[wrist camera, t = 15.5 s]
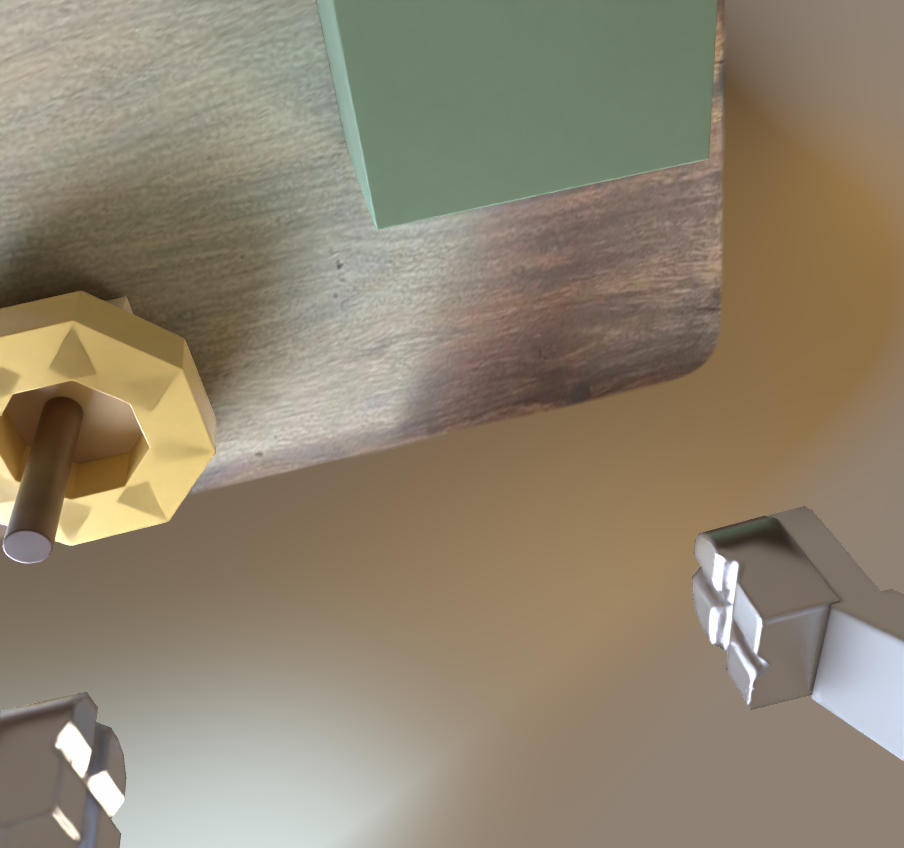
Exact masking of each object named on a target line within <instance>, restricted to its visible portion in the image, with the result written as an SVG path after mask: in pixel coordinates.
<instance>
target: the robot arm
mask: <svg viewBox="0 0 904 848" xmlns="http://www.w3.org/2000/svg"><path fill="white" fill-rule="evenodd" d="M694 555H695V556H696V558H697V560H698V561H699V563H700V565H701V567H700V568H699V569H698V570H697V572H696V573H695V574H694V575H693V577H692V595H693V600H694V604H695V609H696V613H697V615H698V618H699V620H700V623H701V625H702V627H703V629H704V631H705V633H706V635H707V636H708V638H709V640H710V642H711V643H713V644H714V645H716V646H718V647H720V648H722V649H723V650H725V651H727V652H728V659H727V668H726V669H727V671H728V673H729V674H730V676H731V678H732V679H733V681H734V683H735V685H736V686H737V688H738V690H739V691H740V693H741V695H742V696H743V698H744V699H745V701H746V703H747V705H748V707H749V708H750V710H753V709H757V708H761V707H765V706H769V705H773V704H777V703H781V702H785V701H789V700H793V699H797V698H801V697H805V696H809V695H812V699H813V700H815V701H816V702H818V703H819V704H821V705H822V706H824V707H825V708H827V709H828V710H830V711H831V712H832V713H834V714H835V715H837V716H838V717H840V718H841V719H843V720H844V721H846V722H847V723H849V724H850V725H852V726H853V727H854V728H856V729H857V730H859V731H861V732H862V733H863V734H865V735H866V736H868V737H869V738H871V739H872V740H874V741H875V742H876V743H878V744H879V745H881V746H882V747H884V748H885V749H887V750H888V751H890V752H891V753H893V754H894V755H896V756H897V757H898V758H900V759H901V760H903V761H904V594H902V593H900V592H897V591H895V590H893V589H889V590H884V591H880V590H879V588H878V587H877V586H876V585H875V584H874V583H873V581H872V580H871V579H870V578H869V577H868V576H867V574H866V573H865V572H864V571H863V570H862V568H861V567H860V566H859V565H858V564H857V562H856V561H855V560H854V559H853V558H852V557H851V555H850V554H849V553H848V552H847V551H846V550H845V548H844V547H843V546H842V545H841V544H840V543H839V541H838V540H837V539H836V538H835V537H834V536H833V534H832V533H831V532H830V531H829V530H828V528H827V527H826V526H825V525H824V524H823V523H822V521H821V520H820V519H819V518H818V517H817V515H816V514H815V513H814V512H813V511H812V510H810V509H809V508H807V507H805V506H803V507H799V508H795V509H791V510H787V511H783V512H780V513H776V514H772V515H769V516H762V517H758V518H755V519H751V520H747V521H743V522H740V523H736V524H732V525H729V526H725V527H721V528H718V529H714V530H710V531H706V532H703V533H699V534H698V536H697V538H696V539H695V546H694ZM97 710H98V707H97V705H96V704H95V703H94V701H93V700H92V699H91V697H90V696H89V694H88V693H87V692H84V693H77V694H73V695H68V696H64V697H60V698H55V699H51V700H47V701H43V702H38V703H34V704H29V705H25V706H20V707H16V708H12V709H7V710H4V711H0V848H119V847H120V839H121V833H120V832H119V830H118V829H117V827H116V826H115V824H114V823H113V822H112V820H111V818H112V817H113V816H114V814H115V813H116V811H117V810H118V808H119V807H120V806H121V804H122V803H123V801H124V800H125V787H126V772H125V762H124V754H123V751H122V749H121V746H120V743H119V740H118V738H117V736H116V735H115V733H114V732H113V730H112V728H110V727H108V726H105V725H102V724H100V723H97V722H96V718H97Z"/></svg>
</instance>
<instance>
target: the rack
mask: <svg viewBox="0 0 904 848" xmlns="http://www.w3.org/2000/svg"><path fill="white" fill-rule="evenodd" d="M105 302H108V303H110V304H112V305H114V306H116V307H118V308H120V309H123V310H125V311H127V312H129V313H131V314H133V312H132V309H131V307H130V304H129V302H128V299H127V297H120V298H116V299H111V300H106V301H105ZM133 315H134V314H133ZM5 409H6V410H7V412H8V414H9V416H10V417H11V419H12V421H13V423H14V424H15V426H16V428H17V430H18V431H19V433H20V435H21V437H22V438H23V440H24V442H25V444H26V445H28V446H30V447H31V449H30V453H29V456H28V459H27V463H26V466H25V469H24V473H23V476H22V480H21V483H20V486H19V490H18V493H17V496H16V500H15V503H14V506H13V510H12V513H11V516H10V520H9V523H8V526H7V530H6V533H5V536H4V540H3V549H4V551H5V553H6V554H7V555H8V556H9V557H10V558H12V559H13V560H16V561H18V562H23V563H35V562H39V561H42V560H44V559H46V558H47V557H48V556H49V555H50V554H51V552H52V550H53V545H54V541H55V537H56V532H57V528H58V523H59V519H60V515H61V510H62V506H63V502H64V497H65V493H66V489H67V484H68V480H69V475H70V471H71V467H72V462H74V463H77V464H82V463H86V462H90V461H94V460H98V459H102V458H107V457H111V456H115V455H119V454H123V453H127V452H130V451H131V450H132V448H133V446H134V445H135V443H136V442H137V440H138V438H139V437H140V435H141V434H142V430H141V428H140V426H139V423H138V421H137V419H136V417H135V415H134V412H133V410H132V408H131V406H130V404H129V403H126V402H124V401H122V400H119V399H117V398H114V397H112V396H109V395H107V394H105V393H102V392H100V391H97V390H95V389H92V388H90V387H87V386H85V385H83V384H80V383H78V382H75V381H73V380H72V381H68V382H63V383H59V384H55V385H50V386H46V387H42V388H37V389H33V390H29V391H25V392H20V393H16V394H13V395H12V397H11V399H10V401H9V402H8V404H7V406H6V408H5Z"/></svg>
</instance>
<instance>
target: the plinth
mask: <svg viewBox="0 0 904 848" xmlns="http://www.w3.org/2000/svg"><path fill="white" fill-rule="evenodd" d="M316 1H317V6H318V11H319V16H320V21H321V25H322V30H323V35H324V40H325V45H326V50H327V55H328V59H329V64H330V69H331V74H332V79H333V84H334V89H335V94H336V98H337V103H338V108H339V113H340V118H341V123H342V128H343V132H344V137H345V142H346V147H347V151H348V154H349V157H350V160H351V162H352V165H353V168H354V171H355V173H356V176H357V179H358V182H359V184H360V187H361V190H362V193H363V195H364V198H365V201H366V204H367V206H368V209H369V212H370V214H371V217H372V220H373V223H374V225H375V228H376V229H378V230H379V229H383V228H388V227H393V226H398V225H402V224H407V223H412V222H416V221H421V220H426V219H430V218H435V217H440V216H444V215H449V214H454V213H459V212H463V211H468V210H473V209H477V208H482V207H487V206H491V205H496V204H501V203H505V202H510V201H515V200H520V199H524V198H529V197H534V196H538V195H543V194H548V193H552V192H557V191H562V190H566V189H571V188H576V187H581V186H585V185H590V184H595V183H599V182H604V181H609V180H613V179H618V178H623V177H627V176H632V175H637V174H642V173H646V172H651V171H656V170H660V169H665V168H670V167H674V166H679V165H684V164H688V163H693V162H698V161H702V160H707V159H709V148H710V130H711V112H712V95H713V77H714V59H715V41H716V23H717V5H718V0H316Z"/></svg>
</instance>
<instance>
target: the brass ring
mask: <svg viewBox="0 0 904 848" xmlns="http://www.w3.org/2000/svg"><path fill="white" fill-rule="evenodd" d="M72 380H73V381H75V382H78V383H80V384H83V385H85V386H87V387H90V388H92V389H95V390H97V391H100V392H102V393H105V394H107V395H109V396H112V397H114V398H117V399H119V400H122V401H124V402H126V403H129V404H130V406H131V408H132V410H133V412H134V415H135V417H136V419H137V421H138V423H139V426H140V428H141V430H142V434H141V435H140V437H139V438H138V440H137V442H136V443H135V445H134V446H133V448H132V450H131V451H130V452H127V453H123V454H119V455H115V456H111V457H107V458H102V459H98V460H94V461H90V462H86V463H82V464H77V463H74V462H72V467H71V471H70V475H69V480H68V484H67V489H66V493H65V497H64V502H63V506H62V510H61V515H60V519H59V523H58V528H57V532H56V537H55V541H57V542H60V543H63V544H67V545H71V546H72V545H76V544H80V543H84V542H88V541H92V540H96V539H100V538H104V537H108V536H112V535H116V534H120V533H124V532H128V531H132V530H136V529H140V528H144V527H148V526H152V525H156V524H160V523H164V522H168V521H169V520H170V519H171V517H172V516H173V514H174V513H175V511H176V510H177V508H178V507H179V505H180V504H181V502H182V501H183V500H184V498H185V497H186V495H187V494H188V492H189V491H190V489H191V488H192V486H193V485H194V484H195V482H196V481H197V479H198V478H199V476H200V475H201V473H202V472H203V470H204V469H205V467H206V466H207V464H208V463H209V462H210V460H211V459H212V457H213V456H214V454H215V453H216V418H215V415H214V412H213V410H212V407H211V405H210V402H209V400H208V397H207V394H206V392H205V389H204V387H203V384H202V381H201V379H200V376H199V374H198V371H197V369H196V366H195V363H194V361H193V358H192V356H191V353H190V351H189V348H188V345H187V343H186V340H185V339H184V338H183V337H181V336H179V335H176V334H174V333H172V332H170V331H168V330H166V329H163V328H161V327H159V326H157V325H155V324H153V323H151V322H148V321H146V320H144V319H142V318H140V317H138V316H136V315H133V314H131V313H129V312H127V311H125V310H123V309H120V308H118V307H116V306H114V305H112V304H110V303H108V302H105V301H103V300H101V299H99V298H97V297H95V296H93V295H90V294H88V293H86V292H84V291H77V292H72V293H68V294H63V295H59V296H54V297H50V298H45V299H41V300H36V301H32V302H28V303H23V304H19V305H14V306H10V307H5V308H1V309H0V524H3V525H6V526H8V523H9V520H10V516H11V513H12V510H13V506H14V503H15V500H16V496H17V493H18V490H19V486H20V483H21V480H22V476H23V473H24V469H25V466H26V463H27V459H28V456H29V453H30V449H31V447H30V446H28V445H26V444H25V442H24V440H23V438H22V437H21V435H20V433H19V431H18V430H17V428H16V426H15V424H14V423H13V421H12V419H11V417H10V416H9V414H8V412H7V410H6V409H5V408H6V406H7V404H8V402H9V401H10V399H11V397H12V395H13V394H16V393H20V392H25V391H29V390H33V389H37V388H42V387H46V386H50V385H55V384H59V383H63V382H68V381H72Z"/></svg>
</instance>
